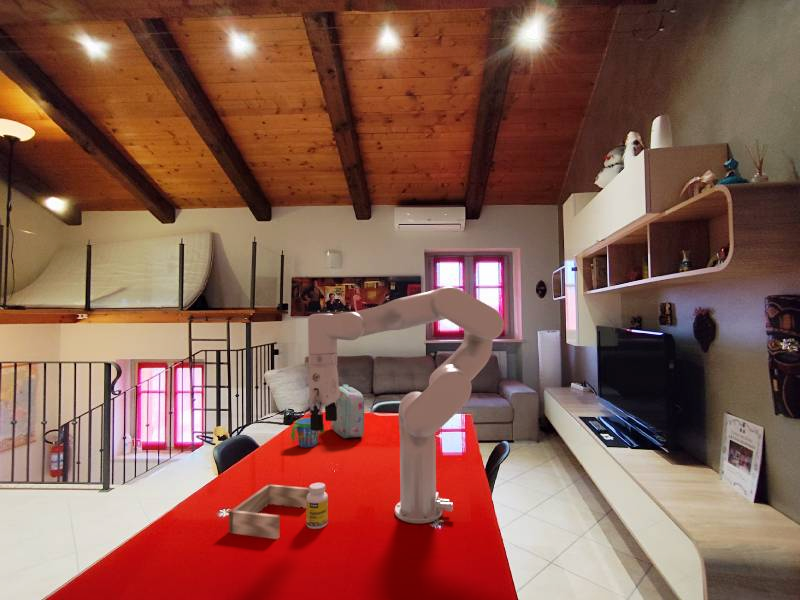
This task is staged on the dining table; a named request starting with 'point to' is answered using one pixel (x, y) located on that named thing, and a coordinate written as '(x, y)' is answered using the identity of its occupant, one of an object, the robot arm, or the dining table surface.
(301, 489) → the open-sided box
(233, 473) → the dining table surface
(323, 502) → the supplement bottle
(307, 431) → the snack cup
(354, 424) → the lunch box
